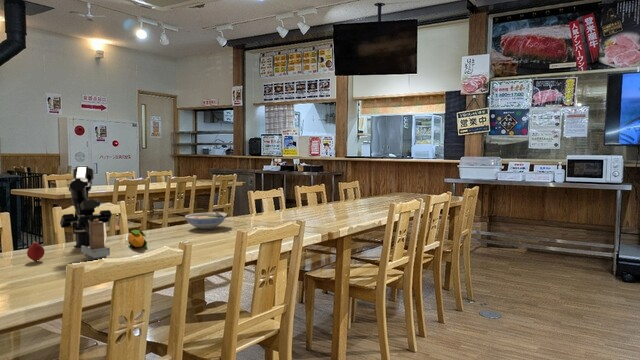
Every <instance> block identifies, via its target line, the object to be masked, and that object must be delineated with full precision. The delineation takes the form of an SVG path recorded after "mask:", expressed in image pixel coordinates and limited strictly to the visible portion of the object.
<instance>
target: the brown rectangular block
mask: <svg viewBox="0 0 640 360" xmlns="http://www.w3.org/2000/svg"><path fill="white" fill-rule="evenodd" d="M104 225H105V223H104V222H101V221H99V219H94V220H93V221H92V222H89V238H90V248H91V249H99V248H105V247H106V246H105V229H104V227H105V226H104Z"/></svg>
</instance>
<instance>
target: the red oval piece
mask: <svg viewBox="0 0 640 360" xmlns="http://www.w3.org/2000/svg"><path fill="white" fill-rule="evenodd" d="M26 255H27V257H28V258H29V259H30V260H32V261H33V262H35V261H37V260H38V261H40V260H42V258H43V257H44V255H45V249H44V247H43V245H41V244H40V243H38V242H36V241H33V242H32V244H31V245H30V246H29V247H28V248H27V251H26ZM38 261H37V262H38Z"/></svg>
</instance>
